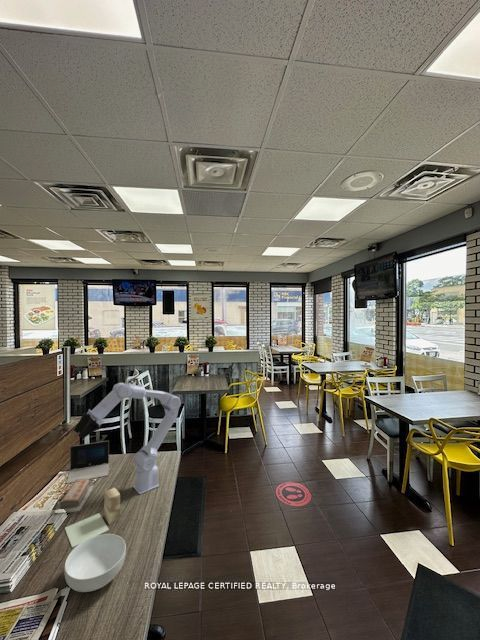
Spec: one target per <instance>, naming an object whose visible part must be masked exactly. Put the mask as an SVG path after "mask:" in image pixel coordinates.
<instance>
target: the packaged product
mask: <svg viewBox="0 0 480 640" xmlns="http://www.w3.org/2000/svg"><path fill="white" fill-rule="evenodd" d="M90 480H91V479H77V480H75V482H73V483H72V485H71V486H70V487H69V489H67V491H66V493H65V494H64V495H63V497H62V499H61V500H60V502H59V503H58V504H57V505H56V507H55V509H64V510H65V511H66V512H67V513H66V514H68V513H69V514H70V513H77V511H78V512H81V510H82V509H83V507H84V504H85V502H86V501H87V499H88V497H89V496H90V493H91V492H92V490H93V488H94V486H95V484H93V483H92V484H90V483H91V482H90ZM55 509H54V510H55Z"/></svg>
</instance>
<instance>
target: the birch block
mask: <svg viewBox="0 0 480 640" xmlns="http://www.w3.org/2000/svg"><path fill="white" fill-rule="evenodd" d="M103 495H104V503H103V505H104V508H103V511H104V513H103V515H104V516H103V517H104V519H105V520H106V522H107V523H108V525H112V524H114V523H116V522H119V521H120V520H121V493H120V492H119V491H118V489H116V487H112V488H110V489H108V490H104V493H103Z"/></svg>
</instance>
